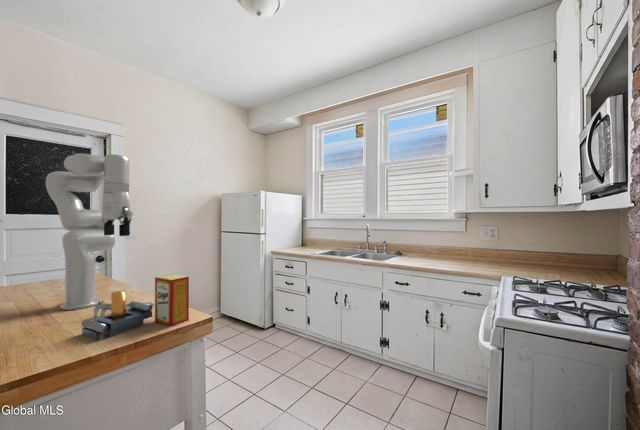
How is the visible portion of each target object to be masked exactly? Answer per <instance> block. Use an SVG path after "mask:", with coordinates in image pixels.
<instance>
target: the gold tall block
mask: <svg viewBox="0 0 640 430" xmlns="http://www.w3.org/2000/svg"><path fill="white" fill-rule="evenodd" d="M110 297H111V298H110V299H111V300H110V301H111V302H110V303H111V310H110V312H111V313H110V314H111V320H118V319H121V318H124V317H126V309H127V308H126V304H127V290H116V291H112V292H111V295H110Z"/></svg>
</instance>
